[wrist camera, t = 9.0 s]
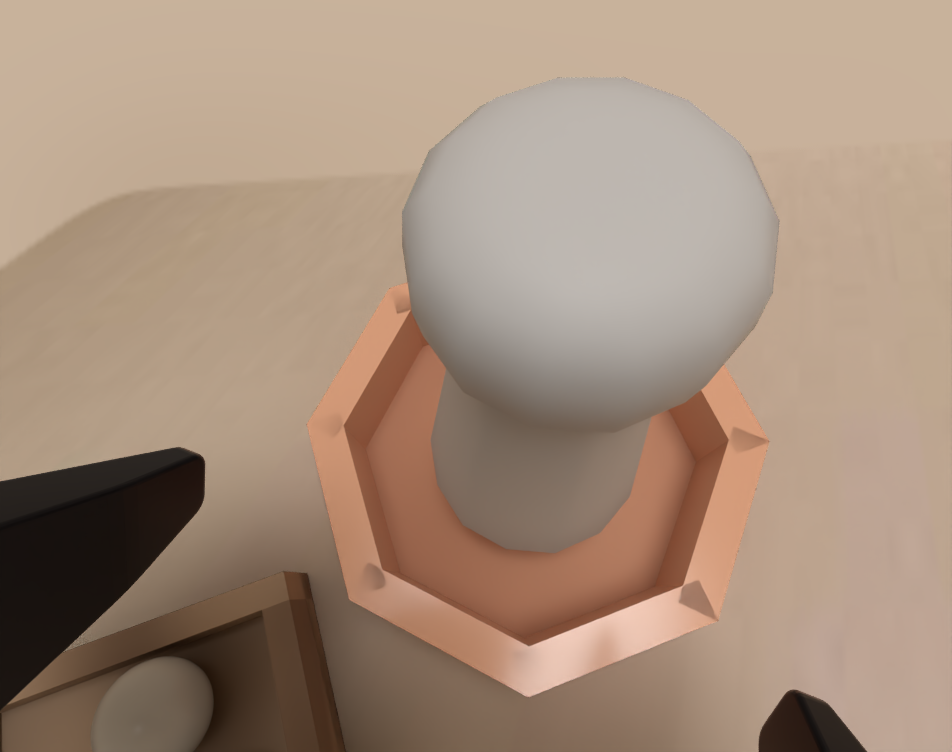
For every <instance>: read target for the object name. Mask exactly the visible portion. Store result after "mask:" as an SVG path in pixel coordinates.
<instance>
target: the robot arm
mask: <svg viewBox="0 0 952 752" xmlns="http://www.w3.org/2000/svg"><path fill="white" fill-rule="evenodd" d="M204 493H205V461H204V458H203V457H202V456H201V455H200V454H197V453H195V452H192V451H190V450H187V449H185V448H181V447H176V448H170V449H165V450H160V451H155V452H150V453H144V454H139V455H134V456H129V457H124V458H119V459H113V460H108V461H103V462H98V463H93V464H88V465H83V466H77V467H72V468H67V469H62V470H57V471H52V472H47V473H41V474H36V475H31V476H26V477H21V478H16V479H10V480H5V481H0V711H1V710H2V709H3V708H4V707H5V706H6V705H7V704H8V703H9V702H10V701H11V700H12V699H13V698H14V697H16V696H17V695H18V694H19V693H20V692H21V691H22V690H23V689H24V688H25V687H26V686H27V685H28V684H29V683H30V682H31V681H32V680H34V679H35V678H36V677H37V676H38V675H39V674H40V673H41V672H42V671H43V670H44V669H45V668H46V667H47V666H48V665H49V664H50V663H52V662H53V661H54V660H55V659H56V658H57V657H58V656H59V655H60V654H61V653H62V652H63V651H64V650H65V649H66V648H67V647H68V646H70V645H71V644H72V643H73V642H74V641H75V640H76V639H77V638H78V637H79V636H80V635H81V634H82V633H83V632H84V631H85V630H86V629H88V628H89V627H90V626H91V625H92V624H93V623H94V622H95V621H96V620H97V619H98V618H99V617H100V616H101V615H102V614H103V613H104V612H105V611H107V610H108V609H109V608H110V607H111V606H112V605H113V604H114V603H115V602H116V601H117V600H118V599H119V598H120V597H121V596H122V595H123V594H124V593H125V592H126V591H127V590H128V589H129V588H130V587H131V586H132V585H133V584H134V583H135V582H136V581H137V580H138V579H139V577H140V576H141V575H142V574H143V573H144V572H145V571H146V570H147V568H148V567H149V566H150V565H151V564H152V563H153V562H154V561H155V559H156V558H157V557H158V556H159V555H160V554H161V553H162V552H163V550H164V549H165V548H166V547H167V546H168V545H169V544H170V542H171V541H172V540H173V539H174V538H175V537H176V536H177V535H178V533H179V532H180V531H181V530H182V529H183V528H184V527H185V526H186V524H187V523H188V522H189V521H190V520H191V519H192V518H193V516H194V515H195V514H196V513H197V512H198V510H199V509H200V507H201V505H202V503H203V500H204ZM759 752H867V751H866V750H865V748H864V747H863V746H862V745H861V744H860V742H859V741H858V740H857V739H856V737H855V736H854V735H853V734H852V732H851V731H850V730H849V729H848V727H847V726H846V725H845V724H844V723H843V721H842V720H841V719H840V718H839V716H838V715H837V714H836V713H835V711H834V710H833V709H832V708H831V707H830V706H829V705H828V704H827V703H826V702H825V701H823V700H821V699H819V698H816V697H814V696H811V695H808V694H806V693H803V692H801V691H798V690H790V691H788V692H787V693H786V694H785V695H784V696H783V697H782V699H781V700H780V702H779V703H778V705H777V706H776V708H775V709H774V711H773V712H772V713H771V715H770V716H769V718H768V719H767V721H766V722H765V724H764V725H763V727H762V729H761V732H760V736H759Z"/></svg>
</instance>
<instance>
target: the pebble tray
mask: <svg viewBox="0 0 952 752" xmlns="http://www.w3.org/2000/svg"><path fill="white" fill-rule="evenodd" d="M164 656H175V657H181V658H184V659H188V660H190V661H192V662H193V663H195V664H196V665H198V666H199V667H200V668H201V669H202V670H203V671H204V672H205V674H206V675H207V677H208V679H209V680H210V683H211V686H212V689H213V695H214V708H213V715H212V719H211V723H210V725H209V728H208V730H207V732H206V734H205V736H204V738H203V740H202V741H201V743H200V744H199V746H198V747H197V748H196V750H195V751H194V752H346V751H345V746H344V742H343V737H342V732H341V728H340V723H339V719H338V714H337V709H336V705H335V700H334V696H333V691H332V686H331V682H330V677H329V672H328V668H327V663H326V659H325V654H324V649H323V645H322V640H321V636H320V631H319V626H318V622H317V617H316V612H315V608H314V603H313V599H312V594H311V589H310V585H309V580H308V575H307V573H297V572H286V571H283V572H280V573H278V574H275V575H272V576H269V577H267V578H264V579H261V580H258V581H256V582H253V583H250V584H248V585H245V586H242V587H239V588H237V589H234V590H231V591H229V592H226V593H223V594H220V595H218V596H215V597H212V598H209V599H207V600H204V601H201V602H199V603H196V604H193V605H190V606H188V607H185V608H182V609H180V610H177V611H174V612H171V613H169V614H166V615H163V616H161V617H158V618H155V619H152V620H150V621H147V622H144V623H141V624H139V625H136V626H133V627H131V628H128V629H125V630H122V631H120V632H117V633H114V634H112V635H109V636H106V637H103V638H101V639H98V640H95V641H92V642H90V643H87V644H84V645H82V646H79V647H76V648H73V649H71V650H68V651H65V652H63V653H61V654H60V655H59V656H58V657H57V658H56V659H55V660H54V661H53V662H52V663H50V664H49V665H48V666H47V667H46V668H45V669H44V670H43V671H42V672H41V673H40V674H39V675H38V676H37V677H36V678H35V679H34V680H32V681H31V682H30V683H29V684H28V685H27V686H26V687H25V688H24V689H23V690H22V691H21V692H20V693H19V694H18V695H17V696H16V697H14V698H13V699H12V700H11V701H10V702H9V703H8V704H7V705H6V706H5V707H4V708H3V709H2V710H1V711H0V752H92V748H91V741H90V732H91V725H92V720H93V717H94V714H95V711H96V709H97V706H98V704H99V702H100V701H101V699H102V697H103V696H104V694H105V693H106V691H107V690H108V689H109V687H110V686H111V685H112V684H113V683H114V682H115V681H116V680H117V679H118V678H119V677H120V676H121V675H123V674H124V673H125V672H126V671H128V670H129V669H131V668H133V667H134V666H136V665H138V664H140V663H142V662H144V661H147V660H150V659H153V658H157V657H164Z"/></svg>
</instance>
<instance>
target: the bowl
mask: <svg viewBox="0 0 952 752" xmlns="http://www.w3.org/2000/svg"><path fill="white" fill-rule="evenodd" d="M445 371H446V367H445V366H444V365H443V363H442V362H441V360H440V359H439V358H438V356H437V355H436V353H435V352H434V351H433V349H432V348H431V346H430V345H429V344H428V342H427V341H426V340H425V338H424V337H423V335H422V333H421V331H420V329H419V327H418V325H417V322H416V320H415V318H414V316H413V314H412V310H411V303H410V296H409V289H408V282H407V283H404V284H401V285H398V286H395V287H392V288H389V290H388V291H387V293H386V295H385V296H384V298H383V300H382V301H381V303H380V305H379V306H378V308H377V309H376V311H375V313H374V314H373V316H372V318H371V319H370V321H369V323H368V324H367V326H366V328H365V329H364V331H363V332H362V334H361V336H360V337H359V339H358V341H357V342H356V344H355V346H354V347H353V349H352V351H351V352H350V354H349V355H348V357H347V359H346V360H345V362H344V364H343V365H342V367H341V369H340V370H339V372H338V374H337V375H336V377H335V378H334V380H333V382H332V383H331V385H330V387H329V388H328V390H327V392H326V393H325V395H324V397H323V398H322V400H321V401H320V403H319V405H318V406H317V408H316V410H315V411H314V413H313V415H312V416H311V418H310V420H309V421H308V423H307V427H308V431H309V435H310V440H311V444H312V448H313V452H314V456H315V460H316V465H317V469H318V473H319V477H320V481H321V485H322V489H323V494H324V498H325V502H326V506H327V510H328V514H329V518H330V523H331V527H332V531H333V535H334V539H335V543H336V547H337V552H338V556H339V560H340V564H341V568H342V572H343V577H344V581H345V585H346V589H347V593H348V597H349V600H351V601H353V602H354V603H356V604H358V605H360V606H362V607H364V608H365V609H367V610H369V611H371V612H373V613H375V614H376V615H378V616H380V617H382V618H384V619H385V620H387V621H389V622H391V623H393V624H395V625H396V626H398V627H400V628H402V629H404V630H406V631H407V632H409V633H411V634H413V635H415V636H417V637H418V638H420V639H422V640H424V641H426V642H428V643H429V644H431V645H433V646H435V647H437V648H439V649H440V650H442V651H444V652H446V653H448V654H450V655H451V656H453V657H455V658H457V659H459V660H461V661H462V662H464V663H466V664H468V665H470V666H471V667H473V668H475V669H477V670H479V671H481V672H482V673H484V674H486V675H488V676H490V677H492V678H493V679H495V680H497V681H499V682H501V683H503V684H504V685H506V686H508V687H510V688H512V689H514V690H515V691H517V692H519V693H521V694H523V695H525V696H526V697H528V698H529V697H531V696H533V695H536V694H538V693H541V692H543V691H546V690H548V689H551V688H553V687H556V686H558V685H561V684H563V683H565V682H568V681H570V680H573V679H575V678H578V677H580V676H583V675H585V674H588V673H590V672H593V671H595V670H598V669H600V668H603V667H605V666H608V665H610V664H612V663H615V662H617V661H620V660H622V659H625V658H627V657H630V656H632V655H635V654H637V653H640V652H642V651H645V650H647V649H650V648H652V647H654V646H657V645H659V644H662V643H664V642H667V641H669V640H672V639H674V638H677V637H679V636H682V635H684V634H687V633H689V632H692V631H694V630H697V629H699V628H701V627H704V626H706V625H709V624H711V623H714V622H716V621H718V619H719V615H720V612H721V608H722V605H723V602H724V598H725V595H726V591H727V588H728V584H729V581H730V577H731V574H732V570H733V567H734V563H735V560H736V556H737V553H738V549H739V546H740V542H741V539H742V535H743V532H744V528H745V525H746V521H747V518H748V514H749V511H750V507H751V504H752V500H753V497H754V493H755V490H756V486H757V483H758V479H759V476H760V472H761V469H762V466H763V462H764V459H765V455H766V452H767V448H768V445H769V440H768V438H767V437H766V435H765V433H764V431H763V430H762V428H761V426H760V425H759V423H758V421H757V419H756V418H755V416H754V414H753V413H752V411H751V409H750V408H749V406H748V404H747V402H746V401H745V399H744V397H743V396H742V394H741V392H740V391H739V389H738V387H737V385H736V384H735V382H734V380H733V379H732V377H731V375H730V374H729V372H728V370H727V368H726V367H725V365H723V366H722V367H721V368H720V370H719V371H718V372H717V373H716V374H715V376H714V377H713V378H712V379H711V380H710V382H709V383H708V384H707V385H706V386H705V387H704V388H703V389H701V390H700V391H699V392H698V393H696V394H695V395H694V396H693V397H691V398H690V399H689V400H688V401H686V402H685V403H683V404H681V405H678V406H676V407H674V408H671V409H669V410H667V411H664V412H662V413H660V414H657V415H655V416H653V417H651V421H650V425H649V428H648V432H647V436H646V439H645V443H644V447H643V450H642V454H641V457H640V461H639V465H638V468H637V472H636V476H635V479H634V483H633V487H632V490H631V494H630V497H629V498H628V499H627V501H626V502H625V503H624V504H623V506H622V507H621V508H620V509H619V510H618V512H617V513H616V514H615V515H614V517H613V518H612V519H611V520H610V522H609V523H608V524H607V525H606V526H605V528H604V529H603V530H602V531H601V533H599V534H597V535H595V536H592V537H590V538H588V539H586V540H584V541H581V542H579V543H577V544H575V545H572V546H570V547H568V548H566V549H563V550H561V551H559V552H557V553H546V552H534V551H523V550H511V549H505V548H503V547H501V546H500V545H498V544H496V543H494V542H492V541H491V540H489V539H487V538H485V537H483V536H482V535H480V534H478V533H476V532H474V531H473V530H471V529H469V528H467V527H465V526H464V525H462V523H461V522H460V520H459V518H458V517H457V515H456V514H455V512H454V510H453V509H452V507H451V506H450V504H449V503H448V501H447V499H446V498H445V496H444V495H443V493H442V491H441V490H440V488H439V487H438V485H437V479H436V473H435V466H434V460H433V454H432V447H431V441H430V440H431V435H432V431H433V426H434V422H435V417H436V413H437V408H438V403H439V399H440V394H441V390H442V385H443V381H444V376H445Z"/></svg>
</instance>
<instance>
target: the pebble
mask: <svg viewBox="0 0 952 752" xmlns="http://www.w3.org/2000/svg"><path fill="white" fill-rule="evenodd" d="M213 708H214V695H213V689H212V686H211V683H210V680H209V679H208V677H207V675H206V674H205V672H204V671H203V670H202V669H201V668H200V667H199V666H198V665H196V664H195V663H193V662H192V661H190V660H188V659H184V658H181V657H175V656H164V657H157V658H153V659H150V660H147V661H144V662H142V663H140V664H138V665H136V666H134V667H133V668H131V669H129V670H128V671H126V672H125V673H124V674H123V675H121V676H120V677H119V678H118V679H117V680H116V681H115V682H114V683H113V684H112V685H111V686H110V687H109V689H108V690H107V691H106V693H105V694H104V696H103V697H102V699H101V701H100V702H99V704H98V706H97V709H96V711H95V714H94V717H93V720H92V725H91V732H90V741H91V748H92V752H194V751H195V750H196V748H197V747H198V746H199V744H200V743H201V741H202V740H203V738H204V736H205V734H206V732H207V730H208V728H209V725H210V723H211V719H212V715H213Z"/></svg>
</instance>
